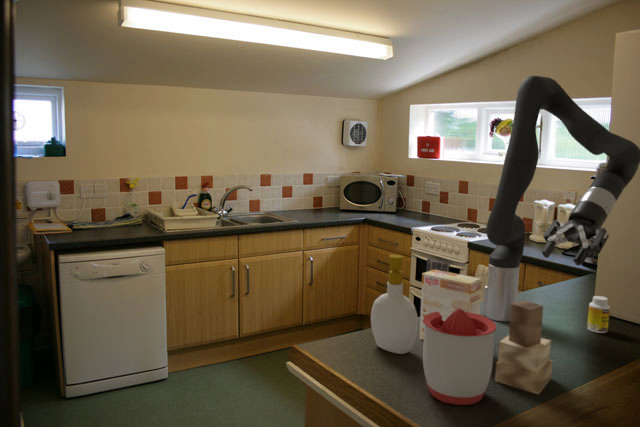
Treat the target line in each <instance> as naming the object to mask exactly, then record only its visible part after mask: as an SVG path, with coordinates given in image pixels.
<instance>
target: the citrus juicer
mask: <svg viewBox="0 0 640 427" xmlns="http://www.w3.org/2000/svg"><path fill="white" fill-rule="evenodd" d="M423 322H424V340H423V344H422V346H423V348H422V364H423V365H422V366H423V371H424V376H425V377H424V378H425V383H426V385H427V389H428V391H429V393H430V394H431V395H432V397H434V398H435V399H437V400H439V401H440V402H442V403H444V404H451V405H456V406H457V405H458V406H467V405H468V406H469V405H474V404H476V403H477V404H478V403H479V402H480V401H481V400H482V398H483V397H484V395H485V393H486V391H487V390H488V389H487V387H488V384H489V382H490V379H491V375H492V372H493V371H492V370H493V364H494V363H493V360H494V350H495V349H494V347H495V332H496V329H497V325H496V323H495V322H494V320H493V319H490V318H488V317H487V316H485V315H481V314H480V315H478V314H474V313H470V312H464V311H463V310H462V309H457V310H456V311H454V312H453V313H452V314H451V315H450V316H449V317H448V318H447V319H446V320H445V321H443V320H442V315H441V314H440V313H439V312H433V313H430V314H428V315H426V316H425V317H424V319H423Z"/></svg>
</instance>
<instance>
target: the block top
mask: <svg viewBox="0 0 640 427" xmlns="http://www.w3.org/2000/svg"><path fill="white" fill-rule="evenodd" d="M551 344H552V342H551V339H547V338H544V337H543V338H542V337H541V343H539V344H536V345H533V346H530V347H525V346H522V345H519V344H517V343H514V342H512V341H509V334H508V335H506V336H505V337H504V338H502V339H501V340H500V341H499V342H498V357H497V358H498V359H497V362H500V363H504V364H507V365H511V366H514V367H518V368H521V369H525V370H528V371H532V372H535V373H537V372H538V371H539V370H540V369H541V368H542V367H543V366H544V365H545V364H546V363H547V362H548V361H549V360H550V356H551Z"/></svg>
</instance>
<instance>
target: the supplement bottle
mask: <svg viewBox="0 0 640 427" xmlns="http://www.w3.org/2000/svg"><path fill="white" fill-rule="evenodd" d="M608 303H609V298H607V297H606V296H602V295H595V296H594V295H593V296H592V301H591V302H589V305H588V315H587V323H586V324H587V325H586V328H587V330H588V331H589V332H592V333H596V334H605V333H607V332H608V330H609V320H610V312H611V306H610V305H609V304H608Z"/></svg>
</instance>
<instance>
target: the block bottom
mask: <svg viewBox="0 0 640 427" xmlns="http://www.w3.org/2000/svg"><path fill="white" fill-rule="evenodd" d="M495 363H496V364H495V375H494V381H496V382H495V383H498V382H500V383H499V384H502V383H503V384H502V385H505V384H506V386H508V385H509V386H510V387H512V386H513V388H516V389H518V388H519V390H522V391H526V392H528V391H529V392H530V393H532V394H535V395H540V394H541V392H542V391H543V389H545V387H546V386H547V385H548V384H549V383H550V382H551V379H552V373H553V360H551V359H549V361H548V362H547V363H546V364H545V365H544V366H543V367H542V368H541V369H540V370H539V371H538V372H537V373H535V372H532V371H528V370H525V369H521V368H518V367H514V366H511V365H507V364H504V363H500V362H498V361H496V362H495Z"/></svg>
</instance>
